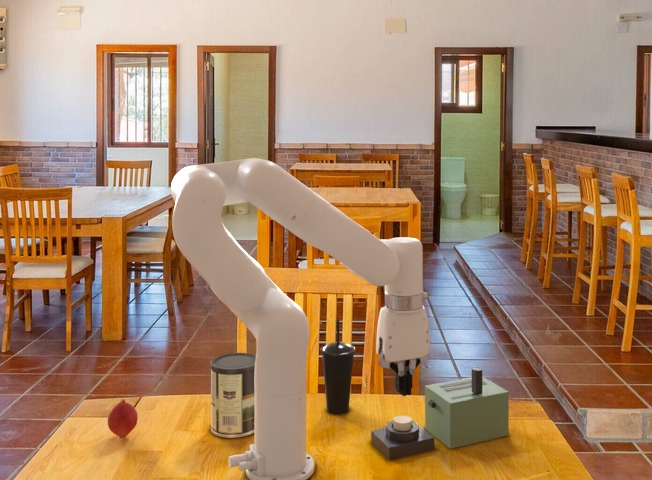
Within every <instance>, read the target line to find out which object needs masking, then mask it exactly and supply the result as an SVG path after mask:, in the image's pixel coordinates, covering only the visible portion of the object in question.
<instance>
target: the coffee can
mask: <svg viewBox="0 0 652 480" xmlns="http://www.w3.org/2000/svg"><path fill="white" fill-rule="evenodd" d="M255 360H256V354H253V353H247V352H231V353H224V354H221V355H218V356H215V357H214V358H212V359H211V360H210V362H209V365H210V366H209V367H210V406H211V407H210V419H211V420H210V431H211V433H212V434H214V436H217V437H219V438H223V439H238V438H244V437H248V436H251V435H253V434H255V396H254V371H255Z"/></svg>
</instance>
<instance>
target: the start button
mask: <svg viewBox="0 0 652 480" xmlns="http://www.w3.org/2000/svg"><path fill="white" fill-rule="evenodd" d="M392 420H393V428H394V429H395V430H399V431H407V430H411V428H412V421H413V420H412V417H410V416H408V415H396V416H394V417H393V419H392Z"/></svg>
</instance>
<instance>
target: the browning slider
mask: <svg viewBox="0 0 652 480" xmlns="http://www.w3.org/2000/svg"><path fill="white" fill-rule="evenodd" d="M482 376H483V369H481V368H480V367H473V368H471V377H472V392H473V393H474V394H481V393H482Z"/></svg>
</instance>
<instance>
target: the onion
mask: <svg viewBox="0 0 652 480" xmlns="http://www.w3.org/2000/svg"><path fill="white" fill-rule="evenodd" d="M138 415H139V414H138V411H137V410H136V408H135V406H133V405H132V404H131V403H129V402H127V400H126V398H121V400H119V402H118V403H117V404H115V405H114V406H113V408H112V409H111V410H110V412H109V413H108V416H107V426H108V430H109V431H110V432H111V433H113V434H114V435H115V436H117V437H119V438H120V439H125V438H126V437H127V436H128V435H129V434H130V433H131V432H132V431H133V430H134V429H135V428H136V426H137V424H138V419H139V416H138Z"/></svg>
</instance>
